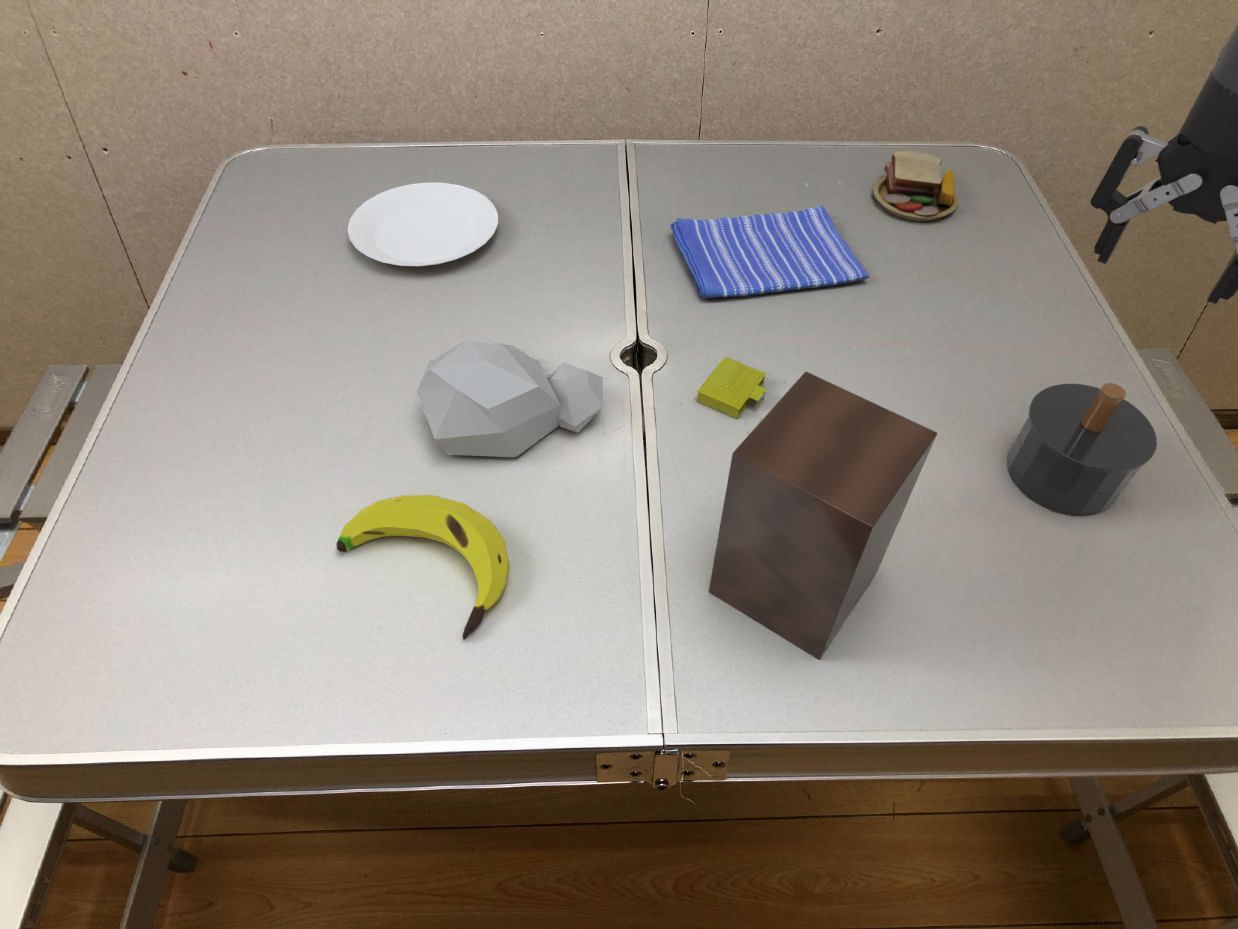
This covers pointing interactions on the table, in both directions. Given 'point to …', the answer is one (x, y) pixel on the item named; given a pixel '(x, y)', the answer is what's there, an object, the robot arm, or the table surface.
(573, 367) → the rock
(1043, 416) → the lid
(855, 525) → the brown rectangular block
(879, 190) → the toy sandwich meal
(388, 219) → the plate
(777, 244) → the dish towel
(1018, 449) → the pot
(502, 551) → the banana
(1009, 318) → the table surface
